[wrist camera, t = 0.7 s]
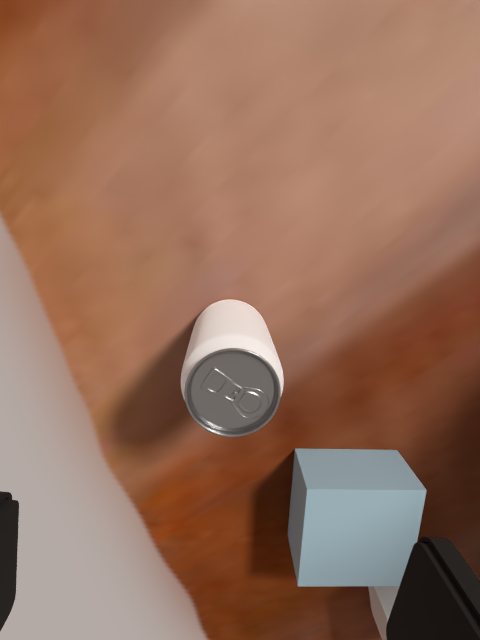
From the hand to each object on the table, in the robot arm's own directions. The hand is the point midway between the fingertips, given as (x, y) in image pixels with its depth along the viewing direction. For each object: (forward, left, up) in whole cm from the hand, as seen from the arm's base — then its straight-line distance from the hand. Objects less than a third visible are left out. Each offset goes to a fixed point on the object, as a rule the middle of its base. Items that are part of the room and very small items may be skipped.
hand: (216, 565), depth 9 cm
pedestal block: (-13, +18, -26) cm, 34 cm away
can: (-1, +2, -26) cm, 26 cm away
